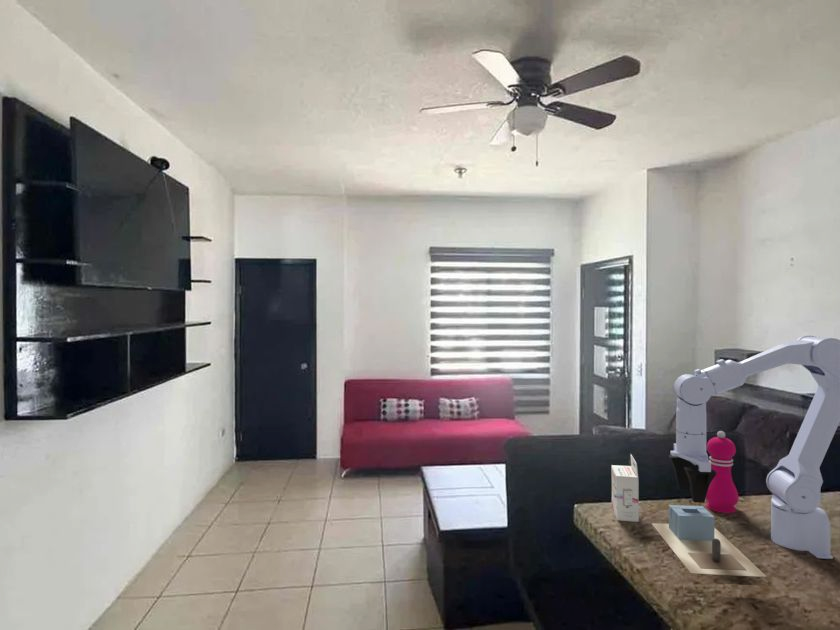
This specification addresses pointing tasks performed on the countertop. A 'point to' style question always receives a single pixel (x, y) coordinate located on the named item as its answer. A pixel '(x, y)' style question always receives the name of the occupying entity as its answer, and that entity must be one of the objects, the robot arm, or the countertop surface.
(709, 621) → the countertop surface
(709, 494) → the pepper mill
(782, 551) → the countertop surface
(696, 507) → the block
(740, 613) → the countertop surface
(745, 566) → the base plate
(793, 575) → the countertop surface
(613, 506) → the ink cartridge box
